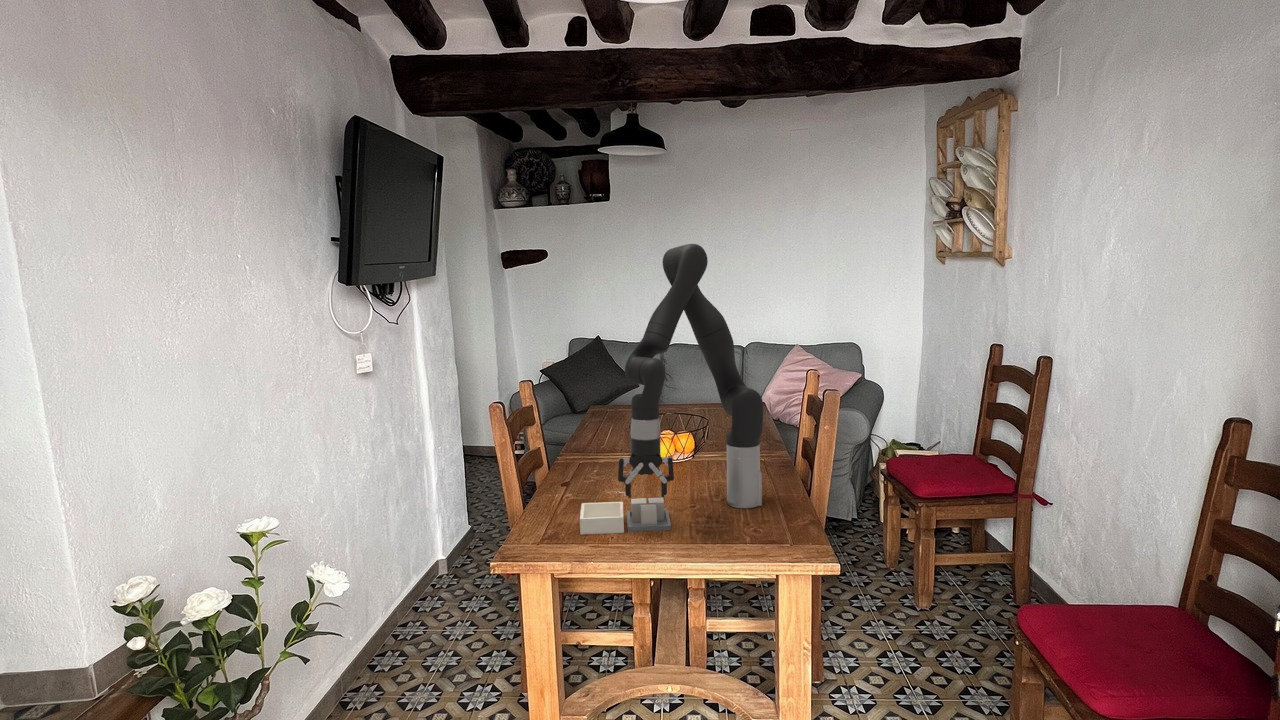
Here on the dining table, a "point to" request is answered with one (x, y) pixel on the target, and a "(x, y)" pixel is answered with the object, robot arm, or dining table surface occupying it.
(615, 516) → the cream dish
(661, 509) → the stone
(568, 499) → the dining table surface
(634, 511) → the stone
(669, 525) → the slate tray
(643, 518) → the stone
